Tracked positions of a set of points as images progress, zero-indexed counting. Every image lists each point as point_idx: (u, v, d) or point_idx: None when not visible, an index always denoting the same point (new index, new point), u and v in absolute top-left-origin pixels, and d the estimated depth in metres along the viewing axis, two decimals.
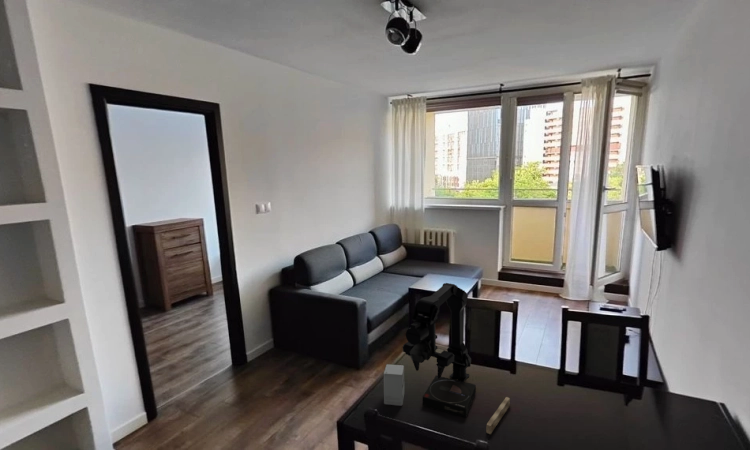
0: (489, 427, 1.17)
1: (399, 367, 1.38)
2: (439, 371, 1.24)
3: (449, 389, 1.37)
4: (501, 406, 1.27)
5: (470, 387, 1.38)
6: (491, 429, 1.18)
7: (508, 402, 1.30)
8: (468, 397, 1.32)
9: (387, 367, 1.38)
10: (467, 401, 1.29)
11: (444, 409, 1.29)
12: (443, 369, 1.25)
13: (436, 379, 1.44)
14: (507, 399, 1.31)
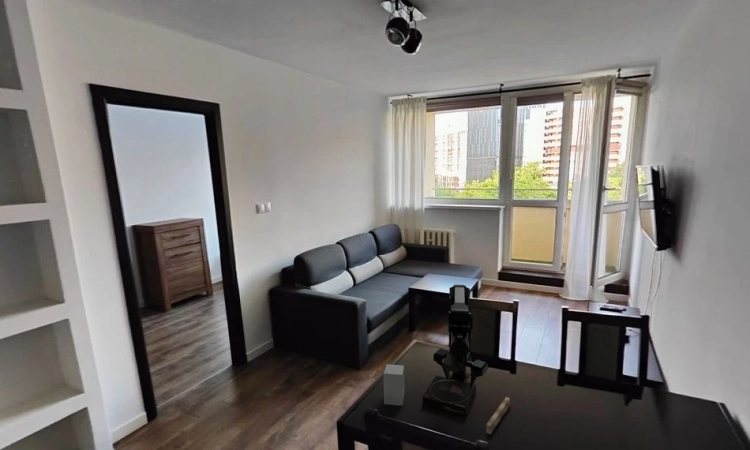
0: (489, 427, 1.17)
1: (399, 367, 1.38)
2: (472, 380, 1.22)
3: (449, 389, 1.37)
4: (501, 406, 1.27)
5: (470, 387, 1.38)
6: (491, 429, 1.18)
7: (508, 402, 1.30)
8: (468, 397, 1.32)
9: (387, 367, 1.38)
10: (467, 401, 1.29)
11: (444, 409, 1.29)
12: (476, 378, 1.24)
13: (436, 379, 1.44)
14: (507, 399, 1.31)
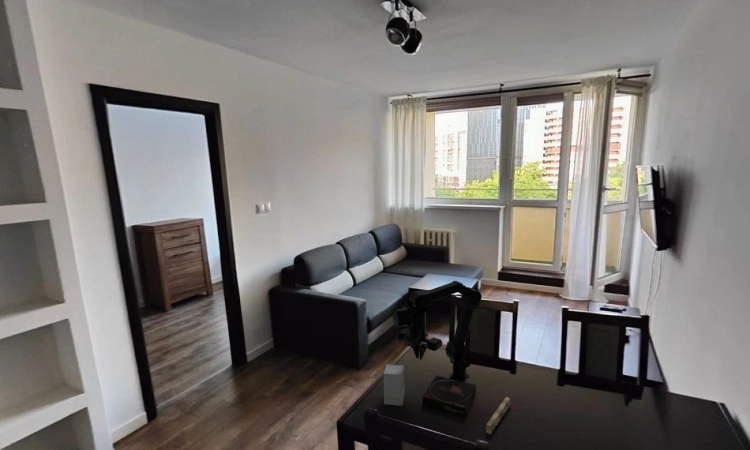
0: (489, 427, 1.17)
1: (399, 367, 1.38)
2: (421, 353, 1.42)
3: (449, 389, 1.37)
4: (501, 406, 1.27)
5: (470, 387, 1.38)
6: (491, 429, 1.18)
7: (508, 402, 1.30)
8: (468, 397, 1.32)
9: (387, 367, 1.38)
10: (467, 401, 1.29)
11: (444, 409, 1.29)
12: (424, 351, 1.44)
13: (436, 379, 1.44)
14: (507, 399, 1.31)
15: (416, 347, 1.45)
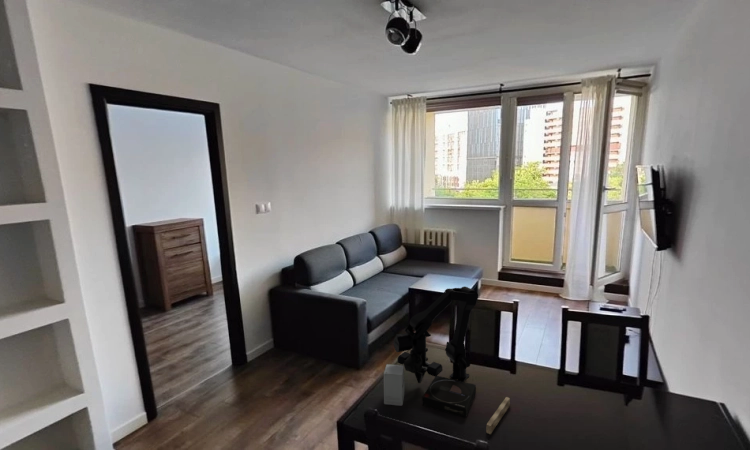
0: (489, 427, 1.17)
1: (399, 367, 1.38)
2: (420, 376, 1.44)
3: (449, 389, 1.37)
4: (501, 406, 1.27)
5: (470, 387, 1.38)
6: (491, 429, 1.18)
7: (508, 402, 1.30)
8: (468, 397, 1.32)
9: (387, 367, 1.38)
10: (467, 401, 1.29)
11: (444, 409, 1.29)
12: (423, 375, 1.45)
13: (436, 379, 1.44)
14: (507, 399, 1.31)
15: (418, 371, 1.45)
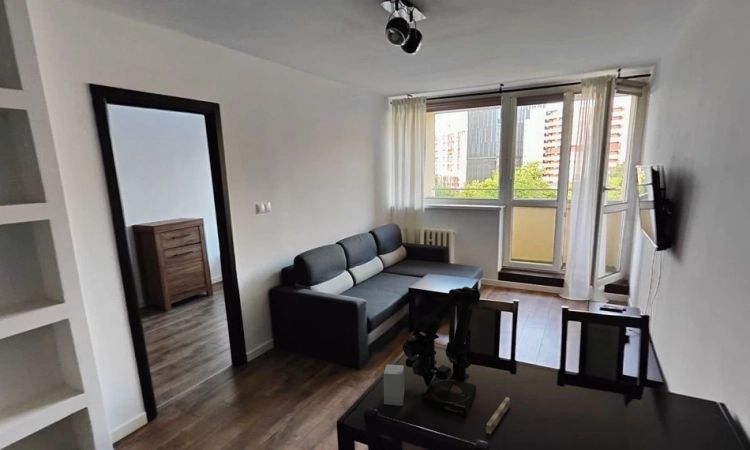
0: (489, 427, 1.17)
1: (399, 367, 1.38)
2: (428, 380, 1.41)
3: (450, 389, 1.37)
4: (501, 406, 1.27)
5: (470, 387, 1.38)
6: (491, 429, 1.18)
7: (508, 402, 1.30)
8: (468, 397, 1.32)
9: (387, 367, 1.38)
10: (467, 401, 1.29)
11: (444, 409, 1.29)
12: (432, 378, 1.43)
13: (436, 379, 1.44)
14: (507, 399, 1.31)
15: None
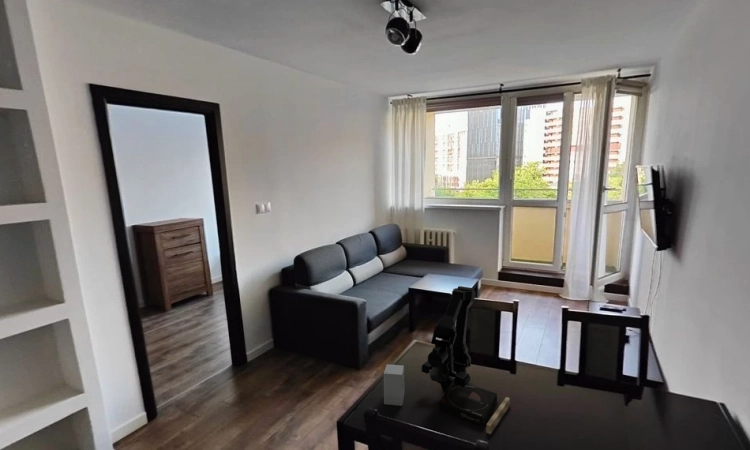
0: (489, 427, 1.17)
1: (399, 367, 1.38)
2: (446, 386, 1.36)
3: (468, 396, 1.33)
4: (501, 406, 1.27)
5: (490, 396, 1.32)
6: (491, 429, 1.18)
7: (508, 402, 1.30)
8: (487, 406, 1.27)
9: (387, 367, 1.38)
10: (485, 410, 1.24)
11: (460, 416, 1.25)
12: (449, 384, 1.38)
13: None
14: (507, 399, 1.31)
15: (443, 381, 1.38)
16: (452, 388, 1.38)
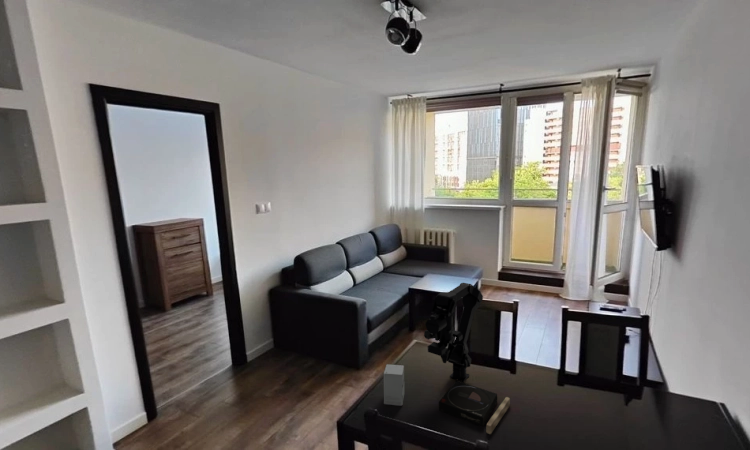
0: (489, 427, 1.17)
1: (399, 367, 1.38)
2: None
3: (468, 396, 1.33)
4: (501, 406, 1.27)
5: (490, 396, 1.32)
6: (491, 429, 1.18)
7: (508, 402, 1.30)
8: (487, 406, 1.26)
9: (387, 367, 1.38)
10: (485, 410, 1.24)
11: (460, 416, 1.25)
12: (445, 357, 1.39)
13: (456, 384, 1.40)
14: (507, 399, 1.31)
15: None
16: (452, 388, 1.38)
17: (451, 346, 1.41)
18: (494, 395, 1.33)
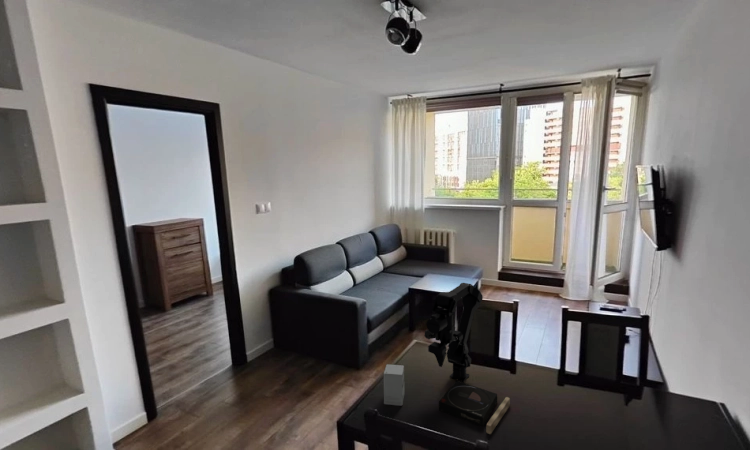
0: (489, 427, 1.17)
1: (399, 367, 1.38)
2: None
3: (468, 396, 1.33)
4: (501, 406, 1.27)
5: (490, 396, 1.32)
6: (491, 429, 1.18)
7: (508, 402, 1.30)
8: (487, 406, 1.26)
9: (387, 367, 1.38)
10: (485, 410, 1.24)
11: (460, 416, 1.25)
12: (441, 360, 1.36)
13: (456, 384, 1.40)
14: (507, 399, 1.31)
15: (451, 345, 1.45)
16: (452, 388, 1.38)
17: (455, 343, 1.44)
18: (494, 395, 1.33)
